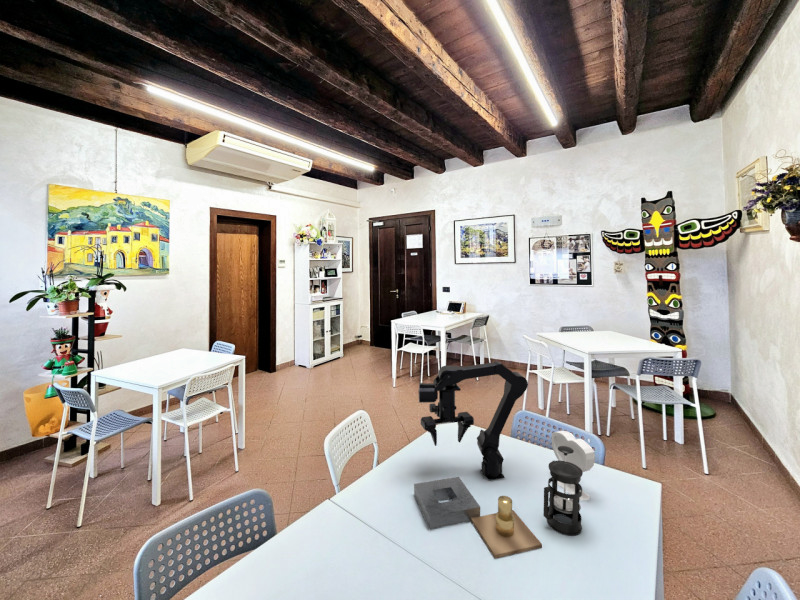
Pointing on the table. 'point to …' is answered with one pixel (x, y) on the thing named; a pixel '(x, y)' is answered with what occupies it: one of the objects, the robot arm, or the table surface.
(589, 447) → the heart sculpture
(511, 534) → the knob
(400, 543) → the table surface
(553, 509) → the french press
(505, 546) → the board
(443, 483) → the plate
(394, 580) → the table surface
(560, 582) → the table surface
